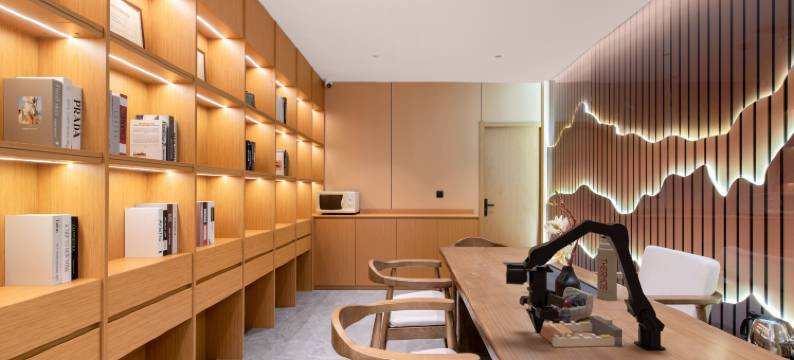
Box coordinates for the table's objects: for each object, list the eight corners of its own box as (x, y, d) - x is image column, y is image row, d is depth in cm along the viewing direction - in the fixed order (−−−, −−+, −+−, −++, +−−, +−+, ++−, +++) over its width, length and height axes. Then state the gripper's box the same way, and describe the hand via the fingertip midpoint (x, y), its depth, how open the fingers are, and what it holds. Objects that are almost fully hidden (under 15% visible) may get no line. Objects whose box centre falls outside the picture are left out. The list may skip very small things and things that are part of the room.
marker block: (573, 344, 139) (573, 333, 139) (552, 344, 139) (552, 333, 139) (559, 333, 149) (559, 323, 149) (539, 334, 149) (539, 323, 149)
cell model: (597, 289, 167) (568, 298, 155) (597, 317, 167) (568, 329, 155) (566, 283, 178) (536, 291, 166) (566, 309, 178) (537, 319, 166)
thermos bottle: (608, 301, 192) (608, 237, 192) (593, 297, 199) (593, 235, 199) (621, 299, 195) (620, 236, 196) (605, 295, 202) (605, 234, 203)
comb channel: (622, 345, 138) (622, 324, 138) (554, 346, 136) (554, 325, 136) (596, 329, 153) (596, 311, 153) (535, 331, 151) (535, 312, 151)
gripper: (575, 291, 135) (575, 342, 135) (549, 279, 154) (550, 323, 153) (540, 292, 134) (540, 343, 134) (518, 279, 153) (519, 324, 153)
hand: (538, 333), depth 143 cm, fingers closed
